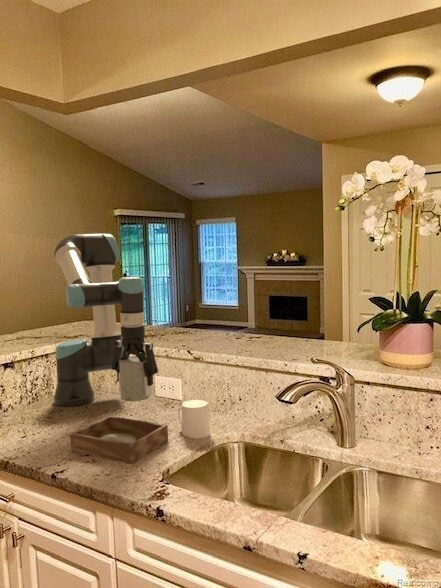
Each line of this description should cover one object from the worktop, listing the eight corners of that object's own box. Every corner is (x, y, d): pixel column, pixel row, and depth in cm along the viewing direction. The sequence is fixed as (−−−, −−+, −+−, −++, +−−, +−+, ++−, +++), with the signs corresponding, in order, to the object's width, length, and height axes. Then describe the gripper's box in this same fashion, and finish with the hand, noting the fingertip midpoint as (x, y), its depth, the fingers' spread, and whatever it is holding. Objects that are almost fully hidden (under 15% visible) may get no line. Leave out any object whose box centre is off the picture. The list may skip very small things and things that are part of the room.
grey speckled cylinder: (128, 403, 154) (126, 364, 153) (115, 396, 162) (114, 359, 161) (155, 397, 160) (154, 360, 159) (142, 390, 168) (140, 354, 166)
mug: (215, 403, 152) (196, 410, 146) (216, 433, 153) (197, 440, 147) (188, 396, 160) (169, 402, 154) (189, 424, 161) (170, 431, 155)
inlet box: (110, 431, 157) (109, 415, 157) (168, 441, 147) (167, 425, 146) (71, 450, 142) (70, 434, 142) (132, 464, 132) (131, 445, 131)
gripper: (97, 325, 160) (101, 392, 163) (154, 329, 150) (157, 400, 152) (113, 321, 167) (116, 386, 169) (168, 325, 157) (170, 394, 159)
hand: (135, 393), depth 161 cm, fingers closed on grey speckled cylinder, 9 cm apart
